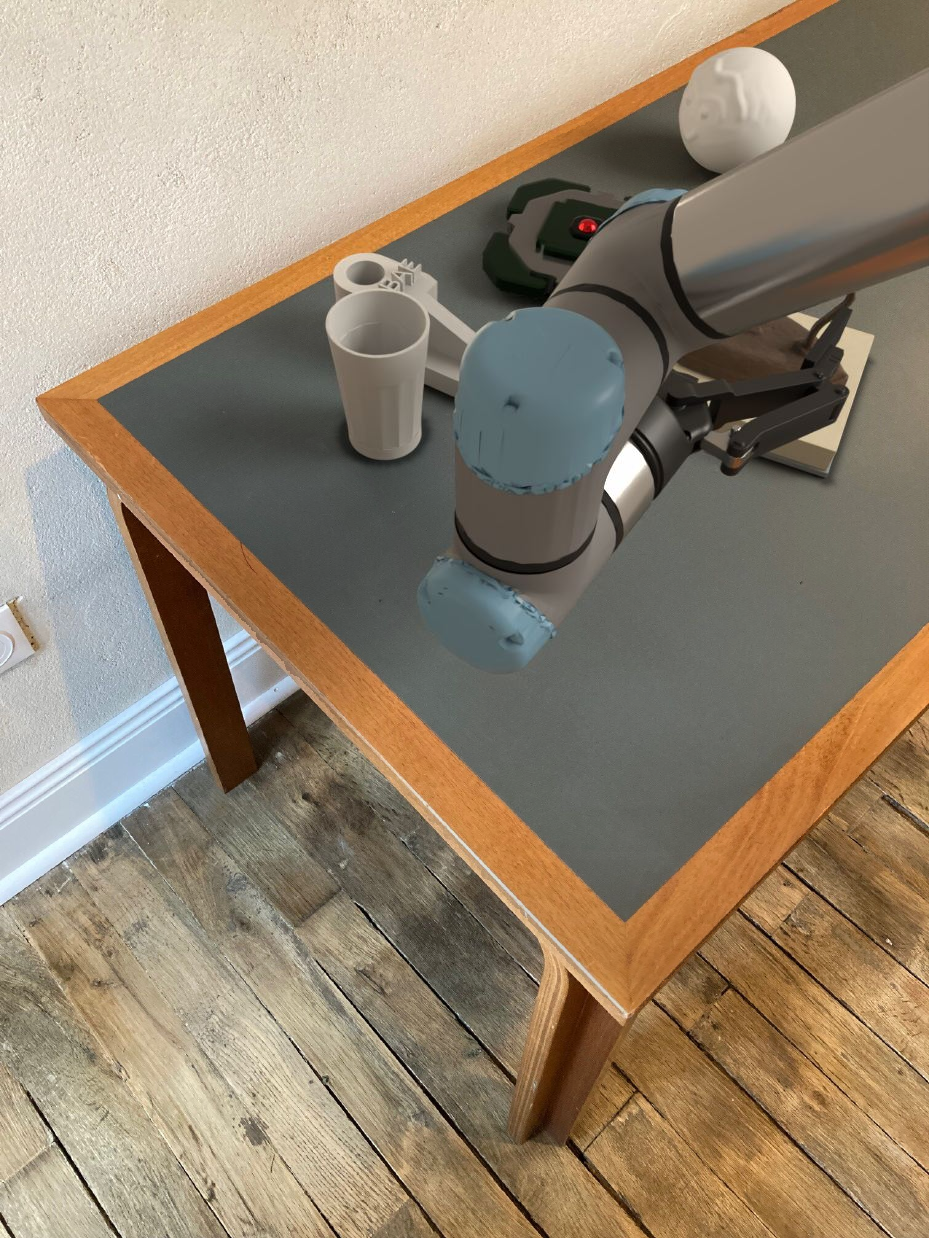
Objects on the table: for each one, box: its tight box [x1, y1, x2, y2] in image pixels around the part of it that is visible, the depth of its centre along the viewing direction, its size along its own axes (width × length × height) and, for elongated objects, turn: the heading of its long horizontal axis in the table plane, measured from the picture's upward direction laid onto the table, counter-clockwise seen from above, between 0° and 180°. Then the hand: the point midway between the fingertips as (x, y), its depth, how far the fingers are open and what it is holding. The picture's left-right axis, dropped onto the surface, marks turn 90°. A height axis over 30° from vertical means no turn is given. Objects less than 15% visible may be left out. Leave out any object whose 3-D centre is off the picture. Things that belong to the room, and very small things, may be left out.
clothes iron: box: [677, 291, 858, 385], centre depth 79 cm, size 14×10×11 cm
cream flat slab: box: [673, 312, 875, 479], centre depth 85 cm, size 18×16×3 cm
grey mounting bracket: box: [332, 252, 477, 398], centre depth 84 cm, size 6×18×8 cm, turn 59°
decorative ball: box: [678, 46, 797, 175], centre depth 100 cm, size 12×12×12 cm
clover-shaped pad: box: [481, 177, 633, 300], centre depth 94 cm, size 18×18×5 cm
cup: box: [325, 288, 430, 461], centre depth 77 cm, size 8×8×12 cm
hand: (752, 286), depth 68 cm, fingers open, 13 cm apart
